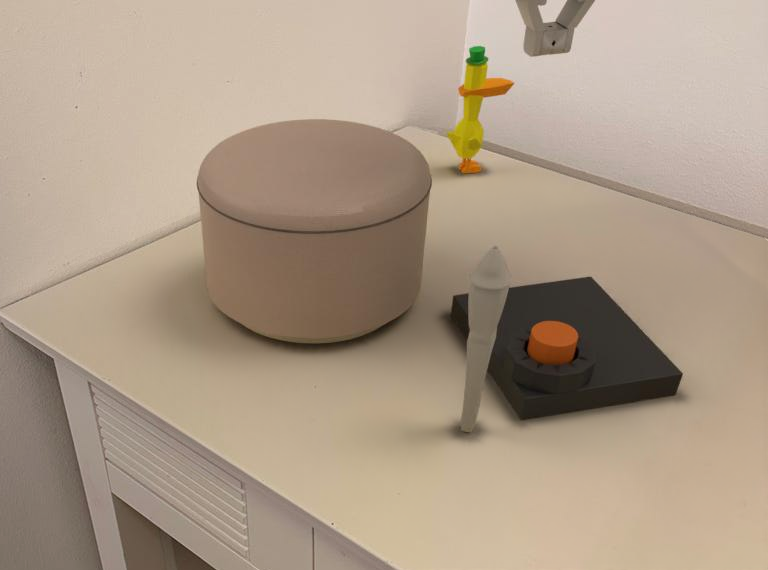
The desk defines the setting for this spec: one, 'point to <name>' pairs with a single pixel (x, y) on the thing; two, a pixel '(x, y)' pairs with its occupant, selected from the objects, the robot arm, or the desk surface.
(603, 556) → the desk surface
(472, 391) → the pen
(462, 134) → the toy figure
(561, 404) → the orange button pad
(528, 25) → the robot arm
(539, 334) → the button
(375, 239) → the container
